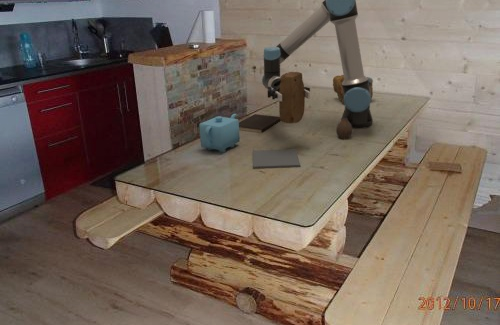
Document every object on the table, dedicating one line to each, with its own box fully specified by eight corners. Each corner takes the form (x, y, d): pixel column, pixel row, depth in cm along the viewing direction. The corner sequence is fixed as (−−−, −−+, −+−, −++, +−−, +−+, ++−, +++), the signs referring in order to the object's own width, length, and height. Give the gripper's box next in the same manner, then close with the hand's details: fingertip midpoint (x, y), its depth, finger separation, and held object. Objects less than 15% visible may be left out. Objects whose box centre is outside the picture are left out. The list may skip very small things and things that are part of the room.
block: (292, 125, 182) (292, 75, 174) (277, 122, 186) (277, 73, 179) (306, 119, 189) (308, 71, 182) (292, 116, 194) (292, 69, 186)
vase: (352, 135, 203) (353, 117, 200) (350, 140, 197) (351, 121, 194) (337, 134, 205) (338, 116, 202) (335, 139, 199) (335, 120, 196)
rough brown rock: (327, 106, 258) (328, 80, 251) (333, 97, 271) (334, 72, 265) (368, 109, 249) (370, 83, 243) (372, 100, 263) (374, 75, 256)
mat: (295, 150, 188) (295, 148, 187) (300, 166, 171) (300, 164, 171) (252, 152, 188) (252, 150, 188) (253, 168, 171) (253, 166, 171)
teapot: (218, 156, 185) (215, 124, 180) (197, 152, 191) (194, 120, 186) (247, 141, 202) (246, 111, 197) (227, 137, 208) (225, 108, 203)
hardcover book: (232, 130, 220) (232, 125, 219) (254, 118, 239) (254, 114, 238) (261, 134, 213) (261, 129, 212) (282, 121, 231) (282, 117, 231)
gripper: (303, 92, 204) (322, 103, 184) (253, 96, 199) (267, 108, 179) (303, 75, 201) (323, 85, 181) (252, 79, 196) (266, 90, 176)
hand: (295, 96), depth 180 cm, fingers closed on block, 11 cm apart
